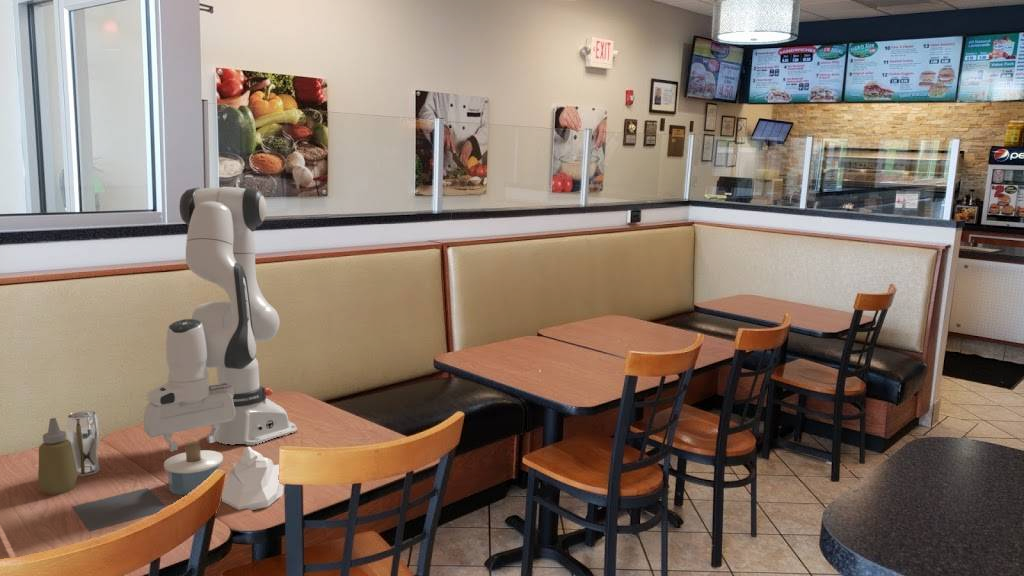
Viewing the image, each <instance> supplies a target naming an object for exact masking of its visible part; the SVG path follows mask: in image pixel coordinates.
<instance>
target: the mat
mask: <svg viewBox="0 0 1024 576" xmlns="http://www.w3.org/2000/svg"><path fill="white" fill-rule="evenodd" d="M165 507H168V506H167V505H166V504H165V503H164V502H163V501H162V500H161V499H159V498H158V496H156V494H155V493H154V492H152V491H151V490H150V489H149V488H148V487H146V488H141V489H138V490H133V491H129V492H125V493H121V494H117V495H114V496H109V497H106V498H101V499H97V500H92V501H89V502H88V501H87V502H84V503H82V504H76V505H72V506H71V508H72V509H73V510H74V512H75V513H76V515H77V516H78V517H79V519H80V520H81V521H82V523H83V525H85V527H86V528H87V529H88V531H89V532H93V531H96V530H99V529H104V528H106V527H111V526H116V525H117V524H123V523H126V522H131V521H133V520H137V519H140V518H145V517H148V516H152V515H155V514H154V513H156V514H158V513H157V512H159V511H160V510H161V509H163V508H165Z"/></svg>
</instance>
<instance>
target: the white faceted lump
mask: <svg viewBox="0 0 1024 576" xmlns="http://www.w3.org/2000/svg"><path fill="white" fill-rule="evenodd" d="M278 475H279V464H274V462H273V460H272V459H271V458H268V457H264V456H263V455H262V454H261V453H260V452H258V451H256V450H253V449H252V447H251V446H246V447H245V448H244V450H243V453H242V454H241V457H240V459H239V460H238V461H236V462H235V463H233V468H232V470H231V471H230V475H229V476H227V480H226V483H225V485H224V487H223V491H222V493H223V494H222V493H221V495H222V501H221V502H222V503H225V504H227V505H229V506H231V507H232V508H234V509H236V510H238V511H240V510H241V511H242V510H246V509H248V510H250V511H254V510H255V511H256V510H260V509H264V508H269V507H270V506H271V505H272V504H273V503H275V502H276V501H277V500H278V499H279V498H280V497H282V496H283V495H284V488H285V485H284V486H283V485H282V484H280V483H279V480H278Z"/></svg>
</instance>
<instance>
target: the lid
mask: <svg viewBox="0 0 1024 576" xmlns="http://www.w3.org/2000/svg"><path fill="white" fill-rule="evenodd" d="M184 446H185V452H180V453H178V454H175V455H173V456H170V457H168V458H167V459H165V461H164V462H163V468H164V470H165V472H172V473H195V472H201V471H205V470H209V469H211V468H214V467H216V466H218V465H220V464H222V463H223V461H224V456H223V453H221V452H219V451H216V450H209V449H208V450H207V449H206V450H205V449H204V450H203V449H202V450H201V442H200V441H196V440H195V441H188V442H186V443H185V445H184Z"/></svg>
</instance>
